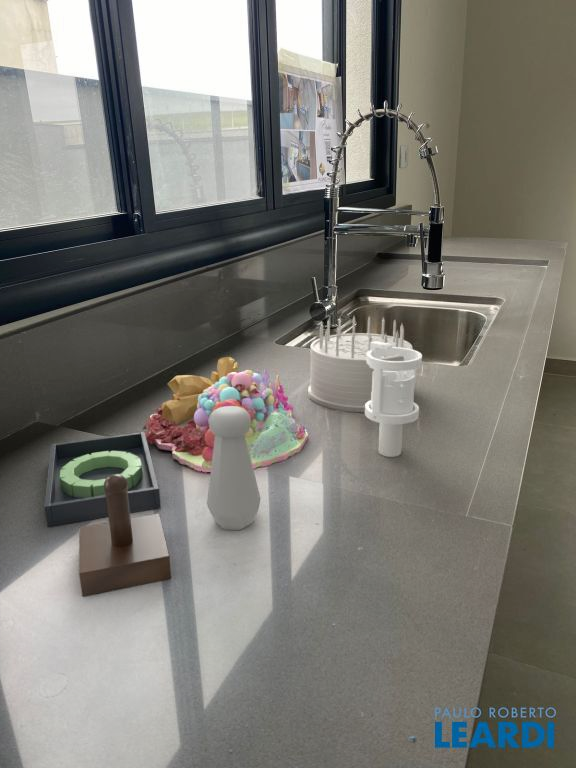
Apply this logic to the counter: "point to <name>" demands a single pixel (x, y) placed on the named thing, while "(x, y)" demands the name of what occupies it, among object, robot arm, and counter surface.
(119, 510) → the stand
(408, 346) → the cake
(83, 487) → the ring
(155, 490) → the tray
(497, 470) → the counter surface
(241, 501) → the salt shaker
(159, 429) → the multicoloured round lumpy mound
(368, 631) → the counter surface
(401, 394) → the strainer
